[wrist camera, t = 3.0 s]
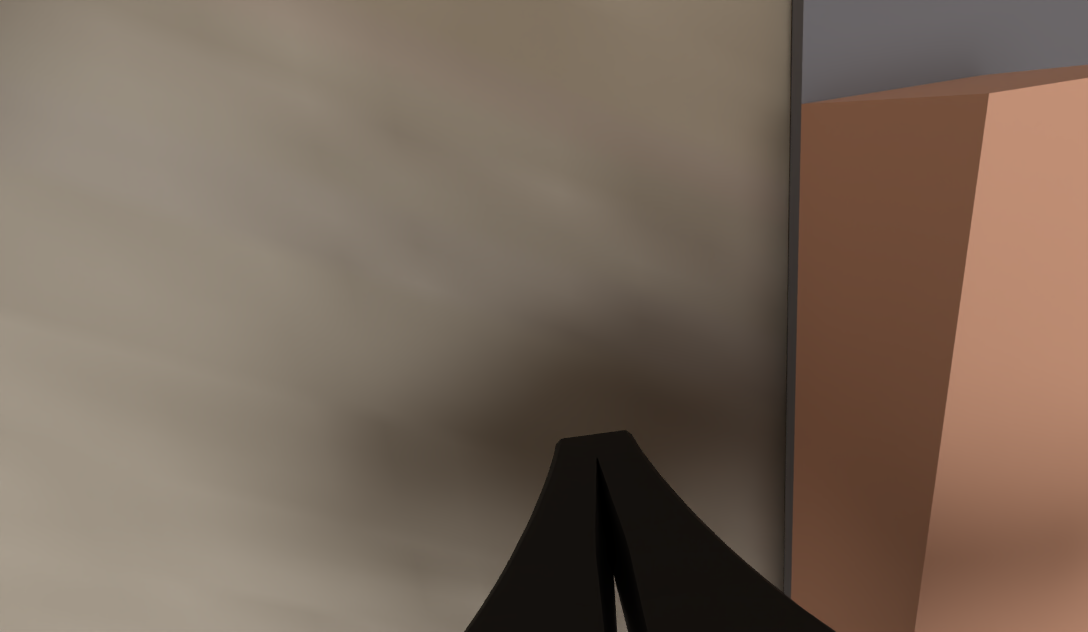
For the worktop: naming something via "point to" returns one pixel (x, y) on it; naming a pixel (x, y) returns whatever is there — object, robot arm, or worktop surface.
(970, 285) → the t block
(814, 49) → the mat
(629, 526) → the robot arm
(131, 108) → the worktop surface
